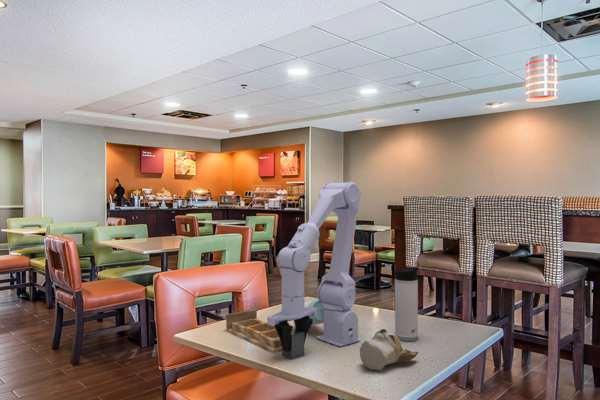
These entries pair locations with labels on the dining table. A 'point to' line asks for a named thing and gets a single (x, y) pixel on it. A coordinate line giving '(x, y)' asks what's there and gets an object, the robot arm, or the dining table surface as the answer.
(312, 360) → the dining table surface
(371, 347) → the ceramic sculpture
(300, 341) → the grey block
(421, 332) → the dining table surface
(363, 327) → the dining table surface
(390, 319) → the dining table surface
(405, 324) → the travel mug
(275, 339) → the tray
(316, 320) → the can
